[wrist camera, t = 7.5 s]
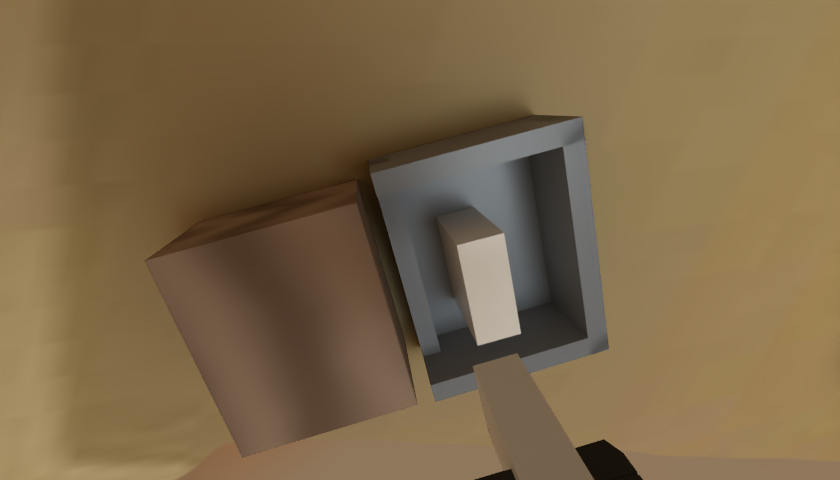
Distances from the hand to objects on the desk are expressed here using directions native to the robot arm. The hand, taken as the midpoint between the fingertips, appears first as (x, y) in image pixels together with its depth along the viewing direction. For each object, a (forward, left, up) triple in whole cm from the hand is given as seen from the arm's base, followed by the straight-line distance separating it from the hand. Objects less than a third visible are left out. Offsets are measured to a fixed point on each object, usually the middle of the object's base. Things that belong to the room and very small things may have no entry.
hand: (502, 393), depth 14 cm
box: (-3, 0, -15) cm, 16 cm away
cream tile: (-1, +1, -11) cm, 11 cm away
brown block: (+8, 0, -15) cm, 18 cm away
